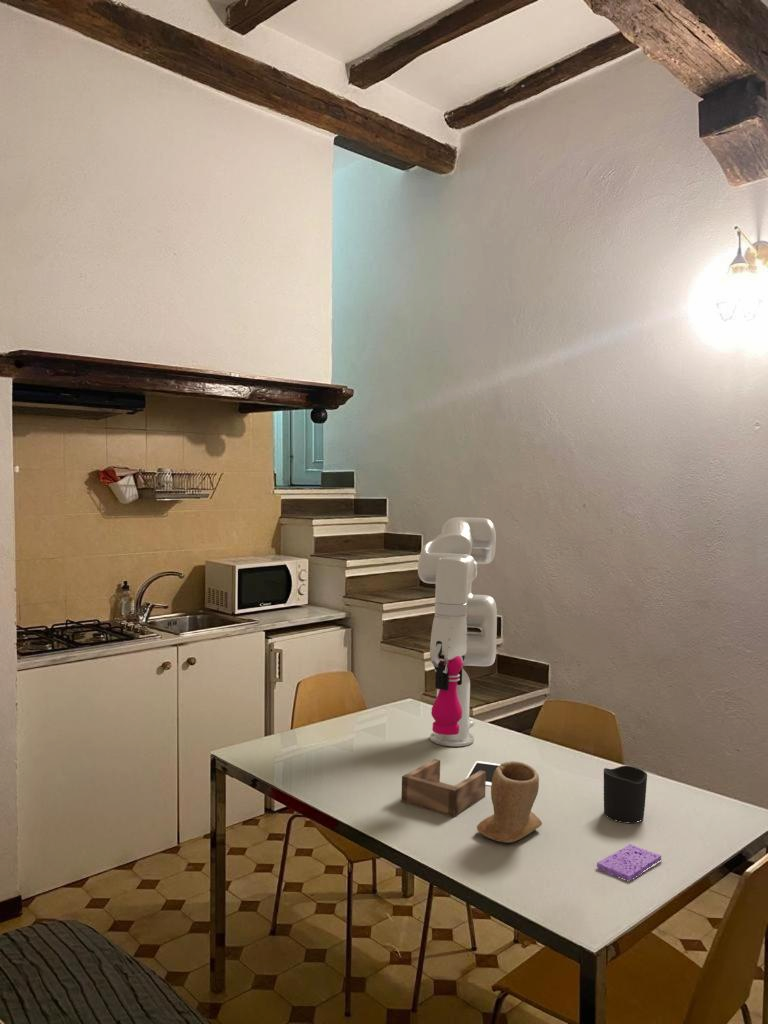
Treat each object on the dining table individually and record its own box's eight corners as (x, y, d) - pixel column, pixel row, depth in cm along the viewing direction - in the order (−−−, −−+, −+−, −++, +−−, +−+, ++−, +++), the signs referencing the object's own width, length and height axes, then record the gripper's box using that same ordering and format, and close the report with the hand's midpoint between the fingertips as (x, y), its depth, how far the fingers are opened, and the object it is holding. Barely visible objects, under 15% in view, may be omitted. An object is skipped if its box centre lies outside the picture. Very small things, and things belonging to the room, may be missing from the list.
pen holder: (644, 827, 173) (646, 782, 173) (600, 820, 177) (602, 776, 176) (646, 811, 182) (647, 768, 182) (604, 804, 185) (605, 762, 185)
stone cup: (515, 854, 159) (518, 780, 158) (469, 835, 167) (471, 764, 167) (556, 832, 170) (559, 763, 169) (511, 815, 178) (513, 749, 178)
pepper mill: (461, 729, 189) (466, 645, 189) (461, 736, 181) (466, 649, 182) (430, 726, 189) (435, 642, 190) (429, 734, 182) (435, 647, 182)
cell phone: (463, 783, 197) (463, 781, 197) (476, 763, 212) (476, 760, 212) (495, 788, 195) (495, 785, 195) (505, 766, 210) (505, 764, 210)
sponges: (661, 864, 157) (661, 855, 157) (628, 885, 149) (629, 875, 149) (629, 851, 163) (629, 842, 162) (596, 871, 154) (596, 861, 154)
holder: (434, 782, 196) (435, 758, 196) (485, 796, 188) (485, 771, 188) (401, 801, 184) (402, 776, 184) (454, 817, 176) (454, 790, 176)
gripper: (454, 604, 194) (452, 677, 195) (417, 612, 180) (415, 691, 181) (482, 607, 190) (479, 682, 191) (446, 616, 176) (444, 697, 177)
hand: (448, 685), depth 186 cm, fingers closed on pepper mill, 5 cm apart
